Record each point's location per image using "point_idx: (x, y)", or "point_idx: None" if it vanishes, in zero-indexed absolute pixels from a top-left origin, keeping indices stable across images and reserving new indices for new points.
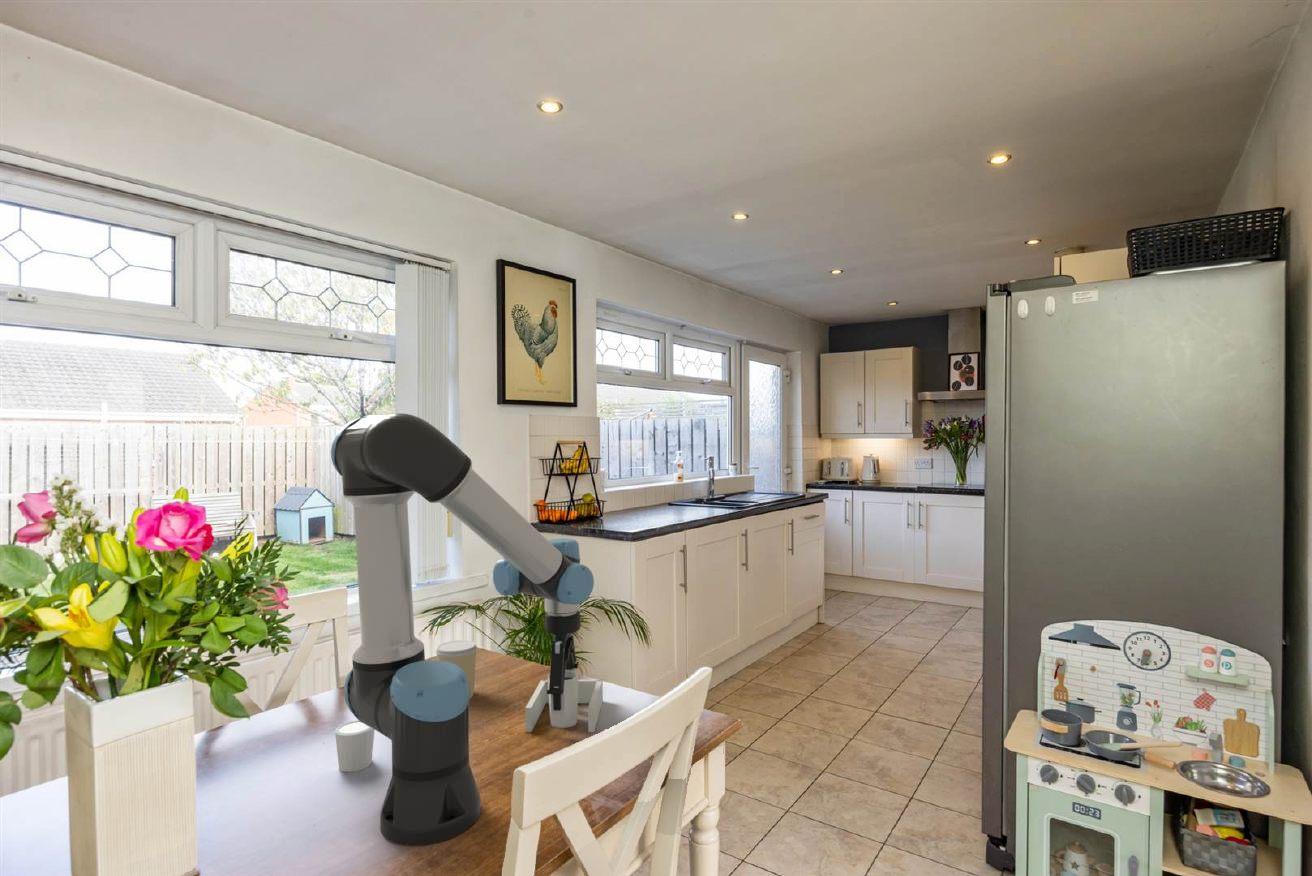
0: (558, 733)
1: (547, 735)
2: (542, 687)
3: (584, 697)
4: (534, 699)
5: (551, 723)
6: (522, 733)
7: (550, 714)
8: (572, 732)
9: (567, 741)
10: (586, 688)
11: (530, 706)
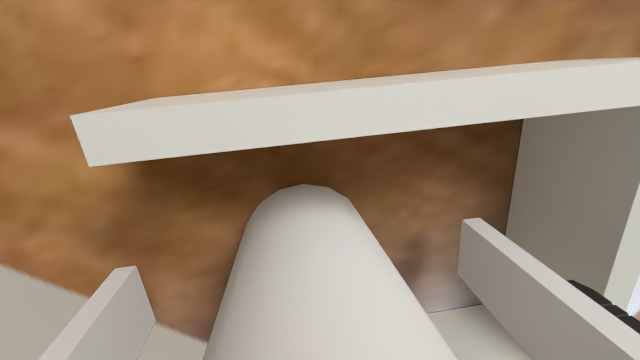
0: (187, 252)
1: (153, 214)
2: (546, 115)
3: None
4: (279, 135)
5: (109, 276)
6: (140, 83)
7: (266, 217)
8: (210, 298)
9: None
10: None
11: (118, 150)
